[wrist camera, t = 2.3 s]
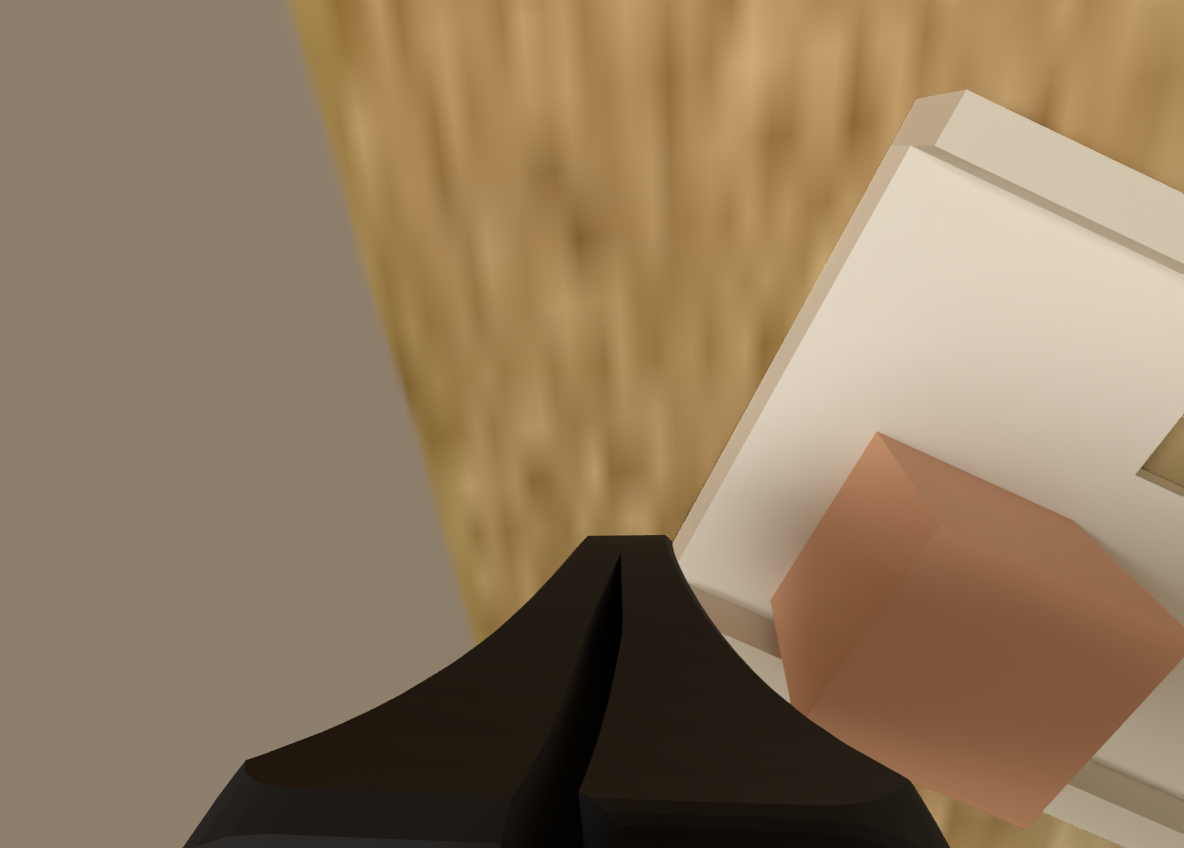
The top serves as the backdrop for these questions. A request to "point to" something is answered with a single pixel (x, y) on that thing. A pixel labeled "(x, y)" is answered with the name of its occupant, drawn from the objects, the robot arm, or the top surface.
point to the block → (965, 633)
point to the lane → (981, 394)
